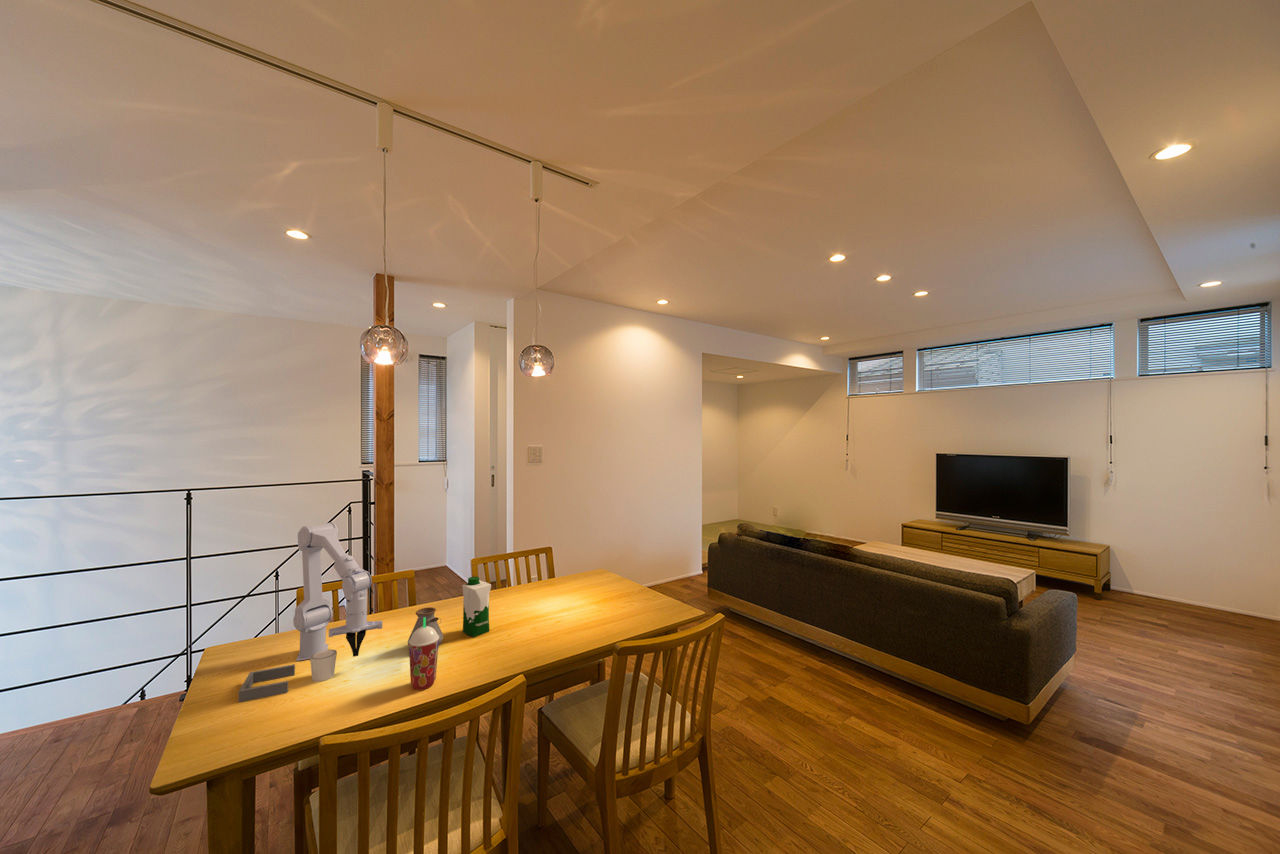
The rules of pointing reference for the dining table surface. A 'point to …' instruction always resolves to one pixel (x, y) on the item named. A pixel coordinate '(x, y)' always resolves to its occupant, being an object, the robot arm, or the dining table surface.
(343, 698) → the dining table surface
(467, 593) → the milk carton
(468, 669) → the dining table surface
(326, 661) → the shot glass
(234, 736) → the dining table surface
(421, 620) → the coffee pot
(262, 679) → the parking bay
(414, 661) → the smoothie
